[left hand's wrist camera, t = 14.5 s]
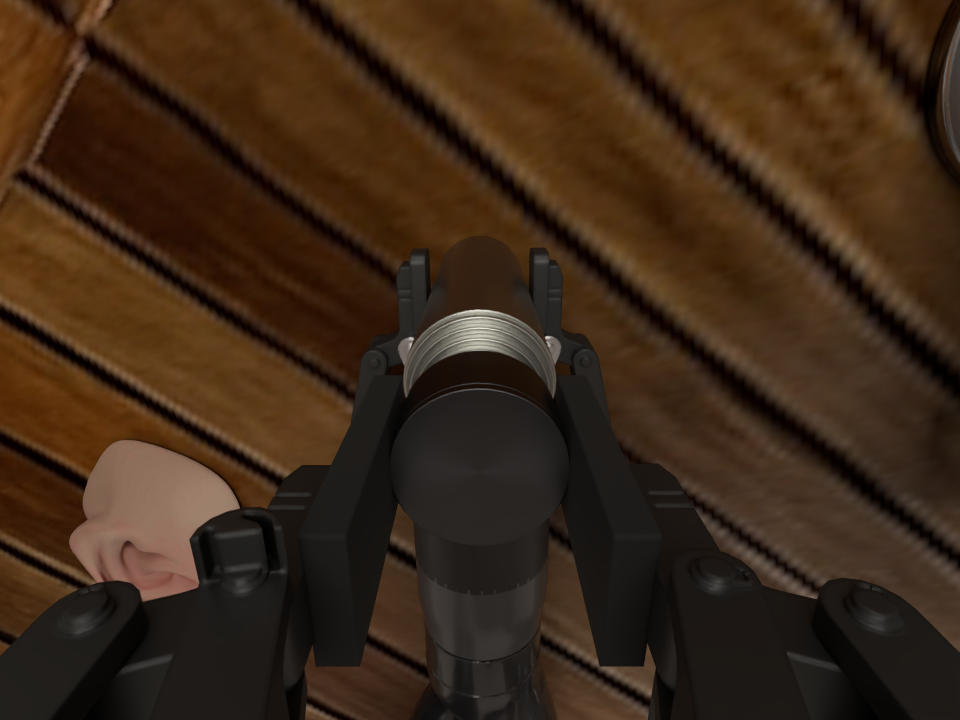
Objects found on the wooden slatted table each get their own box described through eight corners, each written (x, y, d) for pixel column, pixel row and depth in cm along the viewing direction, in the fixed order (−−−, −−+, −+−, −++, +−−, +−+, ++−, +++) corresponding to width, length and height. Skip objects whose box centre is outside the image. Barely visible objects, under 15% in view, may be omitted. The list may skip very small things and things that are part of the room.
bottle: (442, 231, 31) (380, 356, 12) (526, 240, 31) (600, 378, 12) (435, 312, 33) (372, 538, 14) (515, 321, 33) (565, 554, 14)
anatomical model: (30, 463, 32) (228, 490, 33) (77, 431, 36) (253, 456, 36) (54, 632, 37) (227, 652, 37) (94, 588, 40) (250, 607, 41)
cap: (407, 342, 14) (392, 379, 12) (568, 358, 14) (585, 398, 12) (398, 480, 15) (384, 538, 13) (544, 493, 16) (555, 553, 13)
